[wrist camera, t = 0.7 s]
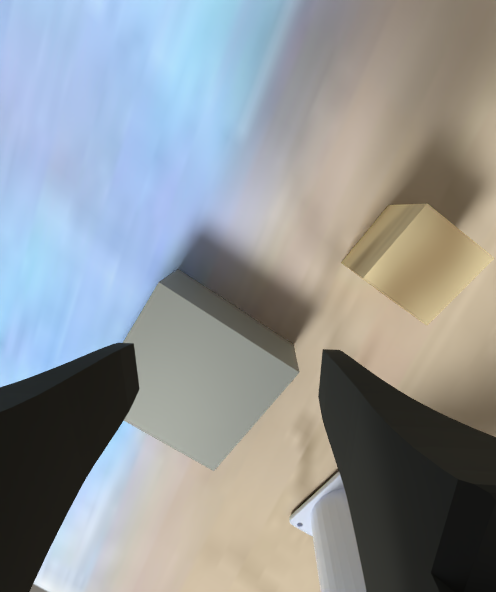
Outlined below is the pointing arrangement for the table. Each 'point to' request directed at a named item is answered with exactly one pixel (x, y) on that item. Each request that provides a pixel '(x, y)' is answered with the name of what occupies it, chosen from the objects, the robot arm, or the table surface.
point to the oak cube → (417, 259)
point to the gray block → (203, 370)
